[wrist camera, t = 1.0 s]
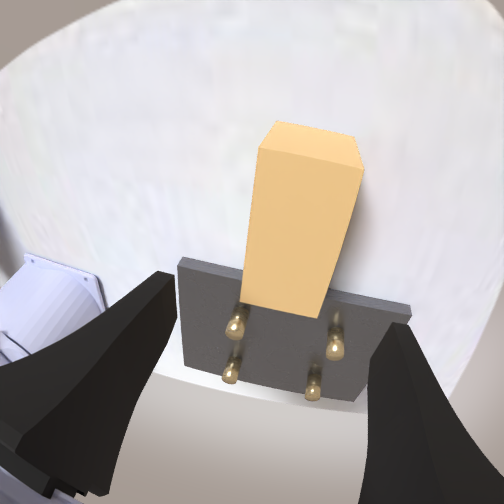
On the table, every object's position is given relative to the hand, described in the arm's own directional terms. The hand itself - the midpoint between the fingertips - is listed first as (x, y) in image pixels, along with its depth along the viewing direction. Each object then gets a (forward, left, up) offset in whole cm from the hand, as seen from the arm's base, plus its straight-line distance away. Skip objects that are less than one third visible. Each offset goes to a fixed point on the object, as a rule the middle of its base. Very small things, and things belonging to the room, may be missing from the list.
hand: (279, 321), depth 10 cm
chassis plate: (+1, -12, -9) cm, 15 cm away
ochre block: (0, 0, -9) cm, 9 cm away
